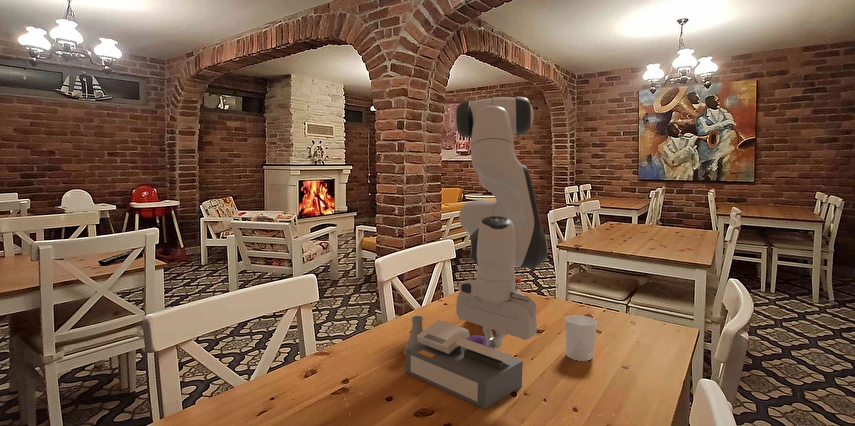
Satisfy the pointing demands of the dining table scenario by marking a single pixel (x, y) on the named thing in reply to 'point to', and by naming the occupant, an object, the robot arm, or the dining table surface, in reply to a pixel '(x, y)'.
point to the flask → (414, 331)
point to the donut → (479, 340)
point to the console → (465, 373)
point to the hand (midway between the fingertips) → (494, 346)
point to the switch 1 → (442, 336)
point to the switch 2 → (484, 349)
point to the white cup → (580, 337)
